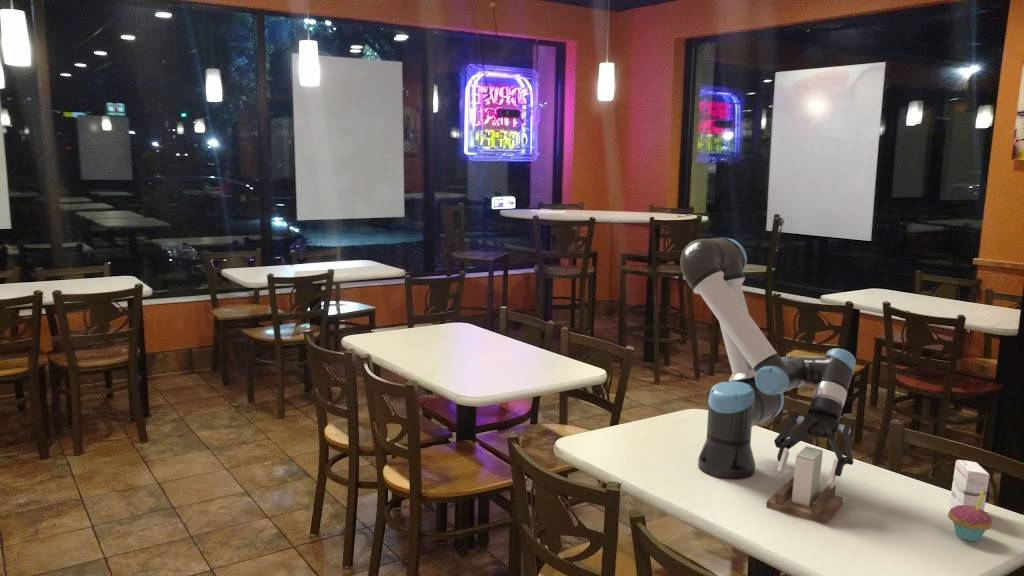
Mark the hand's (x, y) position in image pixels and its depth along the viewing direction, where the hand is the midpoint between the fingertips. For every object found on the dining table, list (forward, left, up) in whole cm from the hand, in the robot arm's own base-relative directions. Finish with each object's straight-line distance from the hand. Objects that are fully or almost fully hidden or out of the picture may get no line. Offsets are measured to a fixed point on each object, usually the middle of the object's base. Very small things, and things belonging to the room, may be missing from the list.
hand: (804, 479), depth 184 cm
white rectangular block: (+32, +25, -8) cm, 41 cm away
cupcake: (+34, +10, -8) cm, 36 cm away
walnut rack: (0, +3, -7) cm, 8 cm away
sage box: (0, +3, -6) cm, 7 cm away
